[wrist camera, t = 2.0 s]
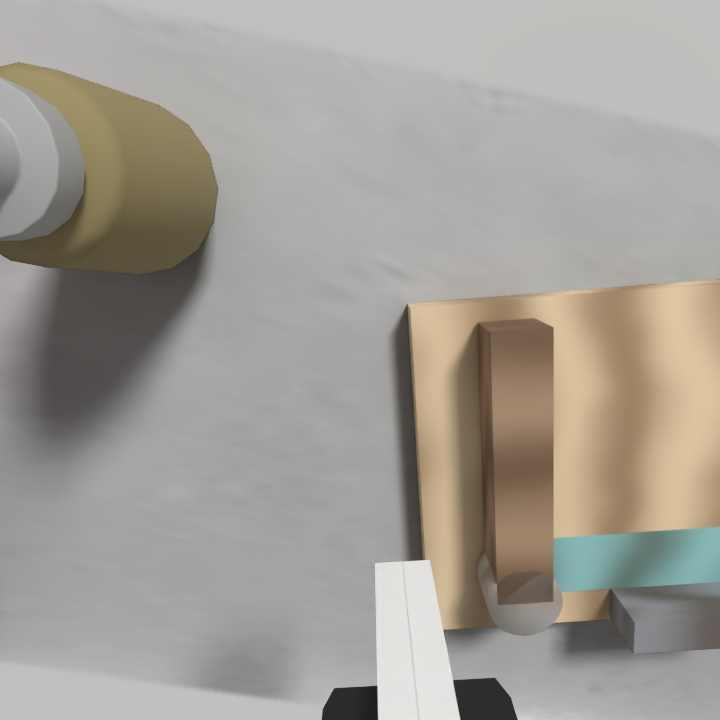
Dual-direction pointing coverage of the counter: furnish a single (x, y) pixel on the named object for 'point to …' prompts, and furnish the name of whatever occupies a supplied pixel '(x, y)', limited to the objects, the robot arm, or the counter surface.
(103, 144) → the squeeze bottle
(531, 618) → the hinged leg
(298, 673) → the counter surface
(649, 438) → the wooden flat board
